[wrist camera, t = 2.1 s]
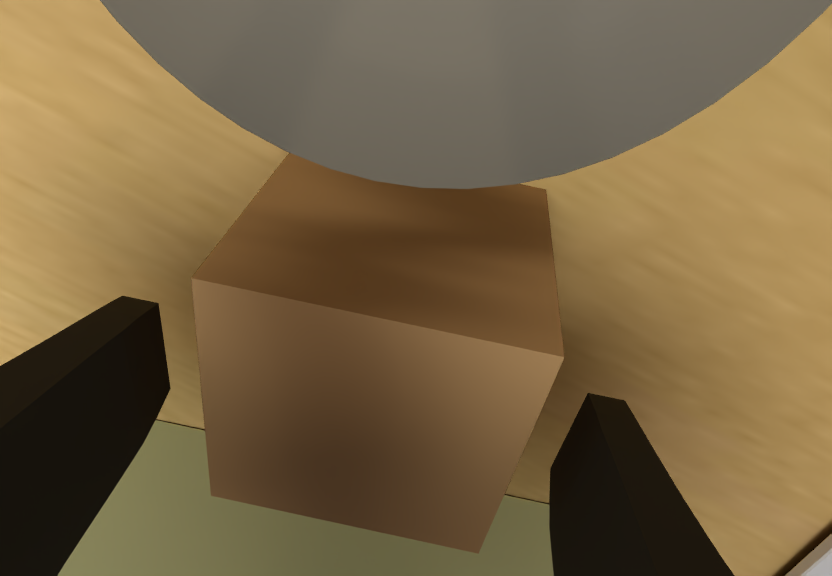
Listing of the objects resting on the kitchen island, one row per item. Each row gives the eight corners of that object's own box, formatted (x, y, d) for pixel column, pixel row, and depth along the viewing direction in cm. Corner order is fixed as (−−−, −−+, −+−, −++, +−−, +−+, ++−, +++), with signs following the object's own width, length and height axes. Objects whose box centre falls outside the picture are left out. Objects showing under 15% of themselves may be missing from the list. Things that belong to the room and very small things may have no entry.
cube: (545, 187, 12) (564, 357, 8) (487, 364, 15) (478, 553, 10) (302, 136, 12) (191, 278, 8) (293, 323, 15) (210, 495, 11)
